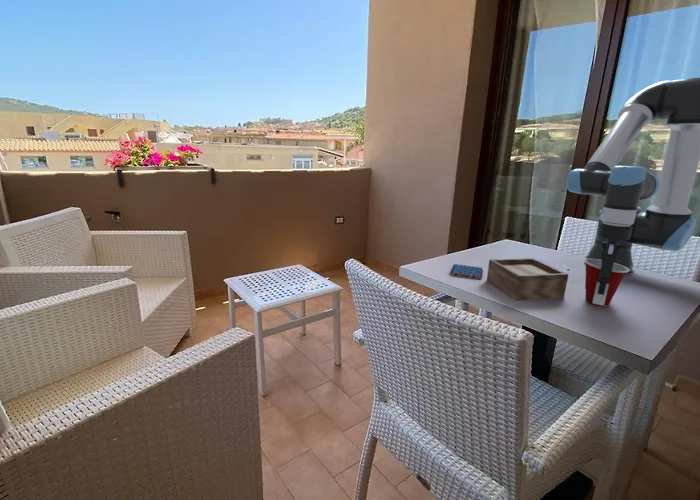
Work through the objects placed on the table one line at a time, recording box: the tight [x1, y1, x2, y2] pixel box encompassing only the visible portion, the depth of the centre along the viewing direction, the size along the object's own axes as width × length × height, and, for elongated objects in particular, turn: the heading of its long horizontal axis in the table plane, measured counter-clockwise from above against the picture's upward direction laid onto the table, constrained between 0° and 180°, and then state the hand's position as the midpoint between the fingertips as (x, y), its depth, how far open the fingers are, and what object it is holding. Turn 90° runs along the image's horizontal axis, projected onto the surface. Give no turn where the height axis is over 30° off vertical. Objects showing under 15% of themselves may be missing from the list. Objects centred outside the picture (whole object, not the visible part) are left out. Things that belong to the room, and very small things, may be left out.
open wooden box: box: [486, 257, 569, 301], centre depth 114 cm, size 16×16×8 cm
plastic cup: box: [584, 259, 630, 307], centre depth 105 cm, size 11×11×12 cm
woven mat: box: [450, 263, 484, 280], centre depth 128 cm, size 10×11×2 cm
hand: (599, 297), depth 106 cm, fingers open, 11 cm apart
